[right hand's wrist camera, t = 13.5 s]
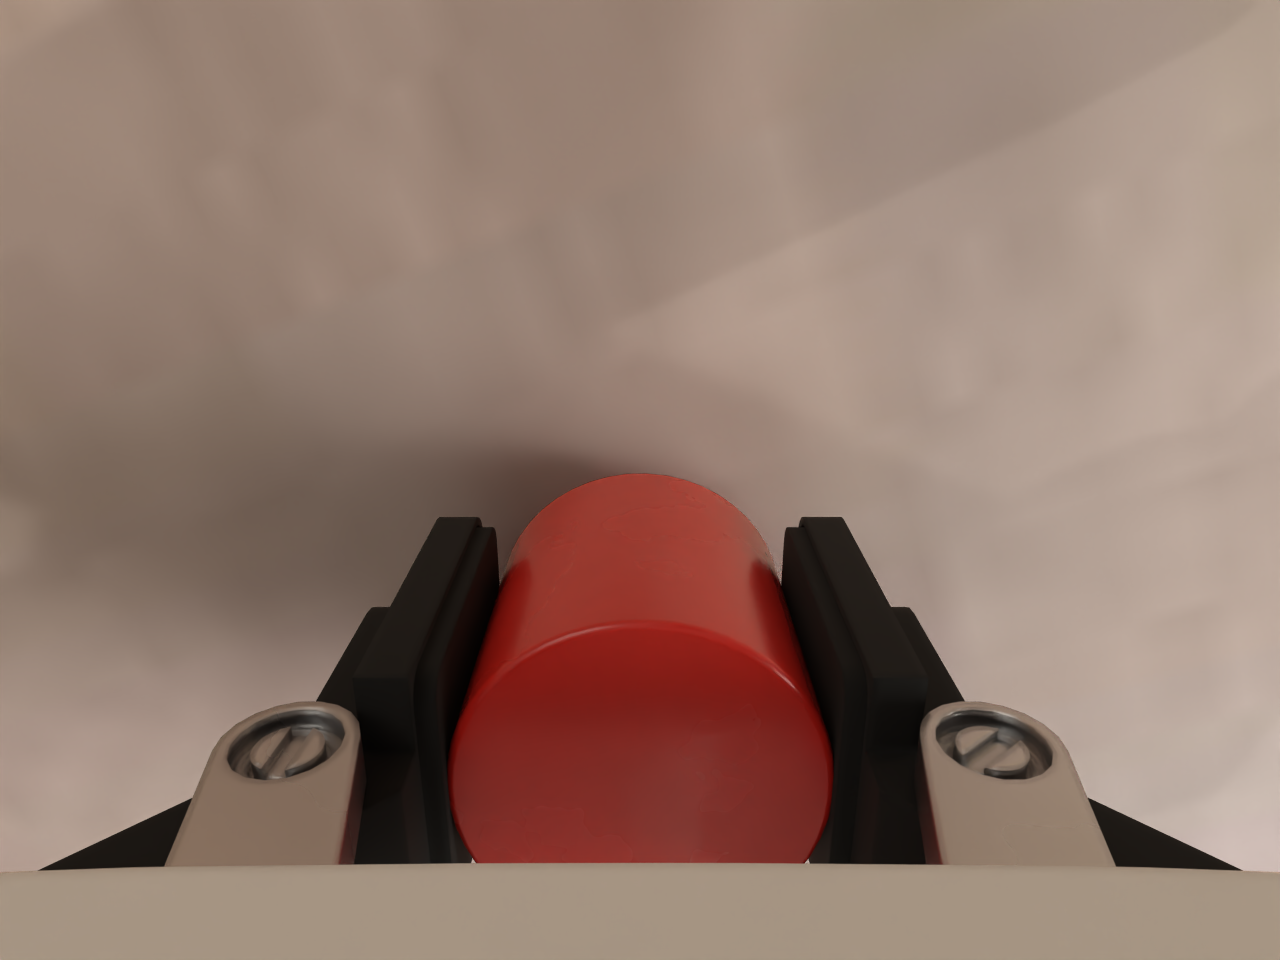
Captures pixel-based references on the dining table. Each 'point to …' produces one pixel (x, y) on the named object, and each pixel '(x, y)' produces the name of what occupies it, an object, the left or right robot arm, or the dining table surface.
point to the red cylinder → (640, 692)
